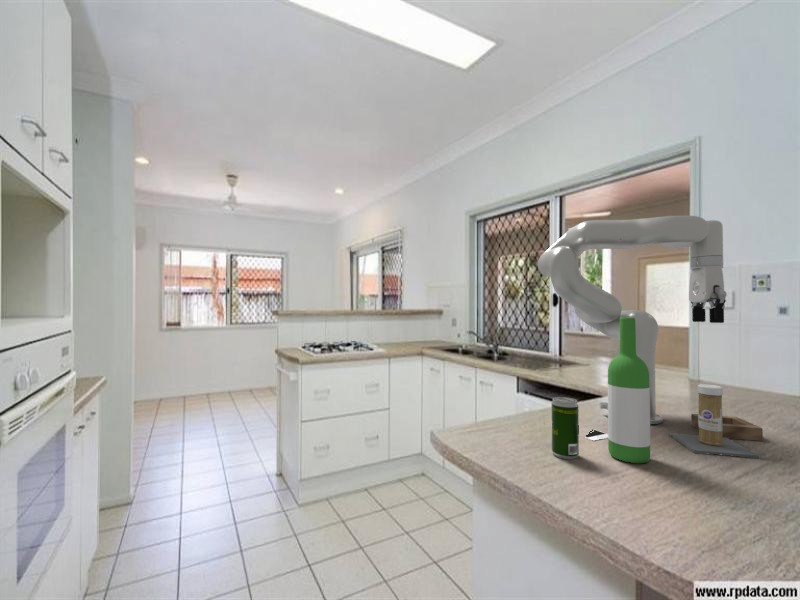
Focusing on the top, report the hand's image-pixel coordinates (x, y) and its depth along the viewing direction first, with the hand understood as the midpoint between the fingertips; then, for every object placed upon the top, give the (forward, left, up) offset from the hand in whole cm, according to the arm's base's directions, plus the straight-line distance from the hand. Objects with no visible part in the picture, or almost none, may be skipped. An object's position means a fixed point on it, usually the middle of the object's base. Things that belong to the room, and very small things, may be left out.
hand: (707, 322), depth 111 cm
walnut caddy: (-2, -12, -28) cm, 31 cm away
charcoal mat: (-11, -25, -28) cm, 39 cm away
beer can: (-45, -40, -28) cm, 67 cm away
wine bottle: (-32, -38, -28) cm, 57 cm away
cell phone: (-39, -20, -29) cm, 52 cm away
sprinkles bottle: (-11, -25, -28) cm, 39 cm away
